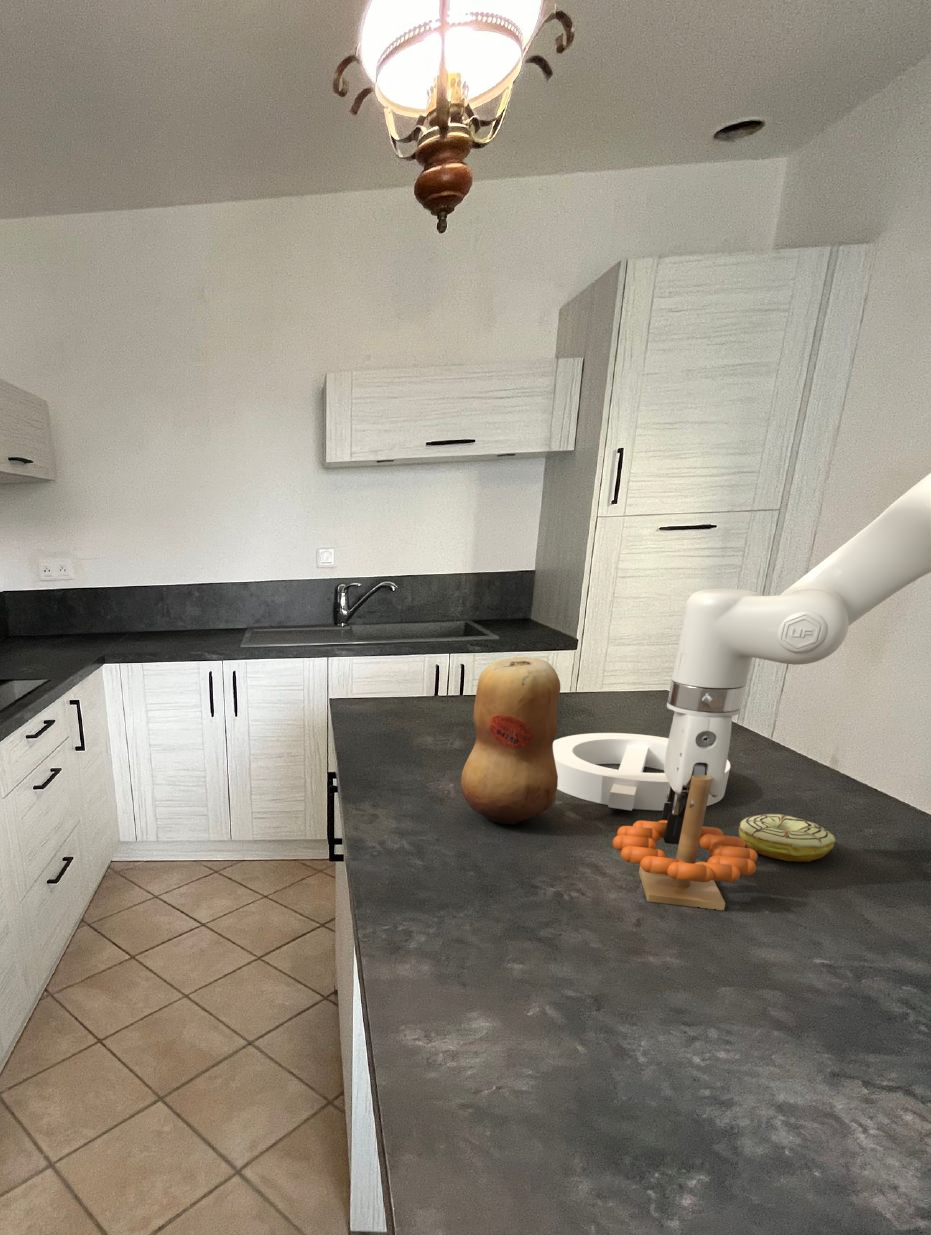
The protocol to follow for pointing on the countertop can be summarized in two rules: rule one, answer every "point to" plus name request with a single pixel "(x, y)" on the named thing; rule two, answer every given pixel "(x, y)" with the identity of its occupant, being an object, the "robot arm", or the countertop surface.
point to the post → (686, 859)
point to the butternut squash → (513, 741)
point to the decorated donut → (785, 837)
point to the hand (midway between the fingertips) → (675, 836)
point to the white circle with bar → (611, 784)
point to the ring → (721, 866)
